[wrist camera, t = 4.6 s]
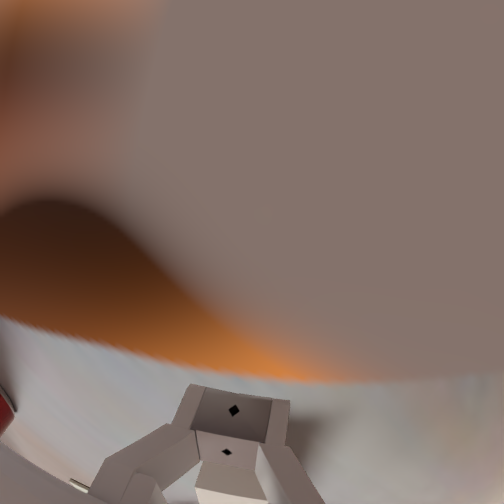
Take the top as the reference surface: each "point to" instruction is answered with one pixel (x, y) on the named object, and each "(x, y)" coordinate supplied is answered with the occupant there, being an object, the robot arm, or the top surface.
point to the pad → (79, 486)
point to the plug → (228, 485)
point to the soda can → (5, 411)
